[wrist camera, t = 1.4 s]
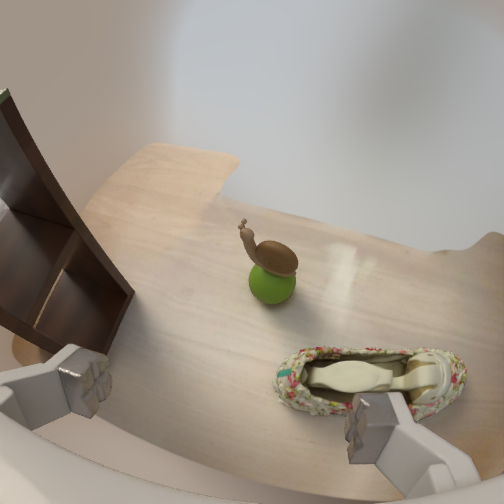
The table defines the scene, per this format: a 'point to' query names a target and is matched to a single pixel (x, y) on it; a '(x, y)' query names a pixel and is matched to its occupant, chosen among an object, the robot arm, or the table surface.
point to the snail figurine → (269, 268)
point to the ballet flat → (369, 378)
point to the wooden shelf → (50, 254)
